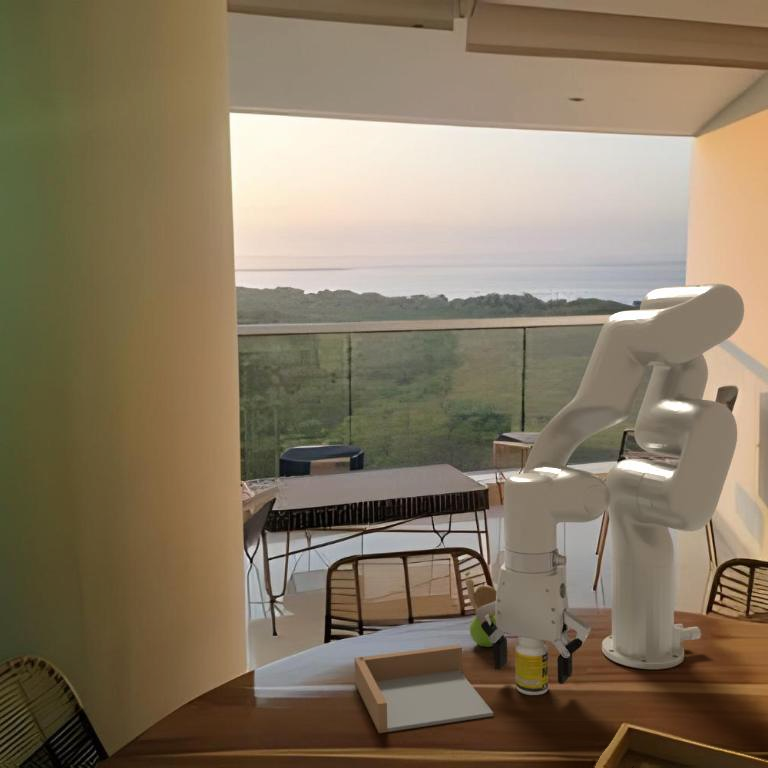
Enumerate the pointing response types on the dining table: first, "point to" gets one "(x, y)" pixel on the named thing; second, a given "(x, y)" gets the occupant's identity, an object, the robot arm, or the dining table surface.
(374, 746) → the dining table surface
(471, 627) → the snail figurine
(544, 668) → the supplement bottle
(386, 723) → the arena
